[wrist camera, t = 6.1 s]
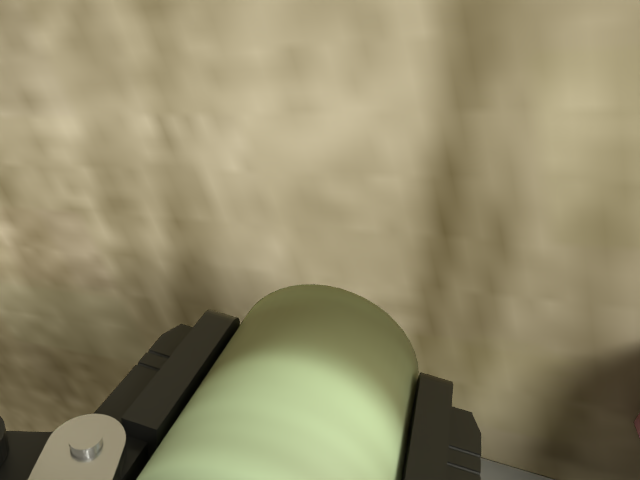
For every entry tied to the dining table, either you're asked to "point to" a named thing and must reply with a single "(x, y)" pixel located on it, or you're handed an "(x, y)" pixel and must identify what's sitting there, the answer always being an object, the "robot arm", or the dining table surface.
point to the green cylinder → (299, 396)
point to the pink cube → (637, 424)
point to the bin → (505, 472)
